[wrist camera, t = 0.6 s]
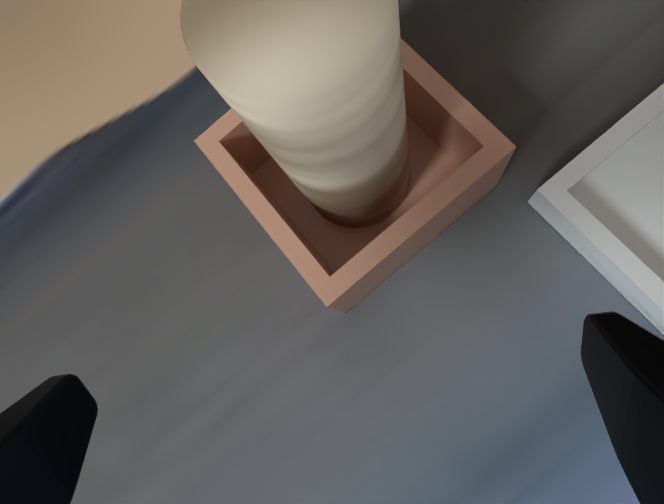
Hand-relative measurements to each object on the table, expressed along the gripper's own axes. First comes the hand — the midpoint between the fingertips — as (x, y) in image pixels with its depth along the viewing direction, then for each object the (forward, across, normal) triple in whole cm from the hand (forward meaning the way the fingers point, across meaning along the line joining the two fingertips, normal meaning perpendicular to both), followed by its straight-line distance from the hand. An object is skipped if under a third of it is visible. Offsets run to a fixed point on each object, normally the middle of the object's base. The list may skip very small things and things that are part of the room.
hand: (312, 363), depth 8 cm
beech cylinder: (+15, 0, +3) cm, 15 cm away
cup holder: (+15, 0, +3) cm, 15 cm away
